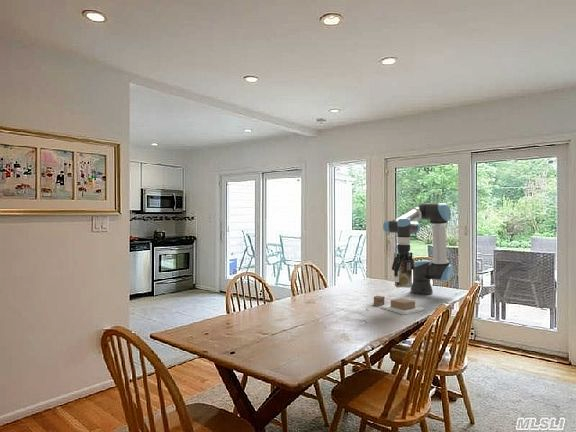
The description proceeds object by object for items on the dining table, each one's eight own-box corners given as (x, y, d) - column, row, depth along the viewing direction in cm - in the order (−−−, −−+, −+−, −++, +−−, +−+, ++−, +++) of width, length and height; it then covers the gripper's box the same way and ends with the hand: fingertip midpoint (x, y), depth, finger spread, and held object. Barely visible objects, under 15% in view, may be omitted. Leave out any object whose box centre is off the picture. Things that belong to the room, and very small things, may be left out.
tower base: (400, 304, 249) (400, 296, 249) (425, 310, 234) (425, 301, 234) (381, 308, 239) (381, 299, 238) (405, 314, 224) (405, 305, 224)
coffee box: (409, 285, 239) (410, 259, 239) (411, 287, 232) (412, 260, 232) (394, 285, 240) (394, 258, 239) (396, 287, 233) (396, 260, 233)
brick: (376, 303, 251) (377, 295, 251) (384, 304, 248) (384, 296, 248) (373, 304, 247) (373, 296, 247) (381, 306, 244) (381, 297, 244)
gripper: (410, 242, 245) (410, 278, 246) (385, 244, 232) (385, 281, 232) (421, 243, 239) (420, 280, 239) (395, 245, 226) (395, 283, 226)
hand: (403, 281), depth 236 cm, fingers closed on coffee box, 10 cm apart
